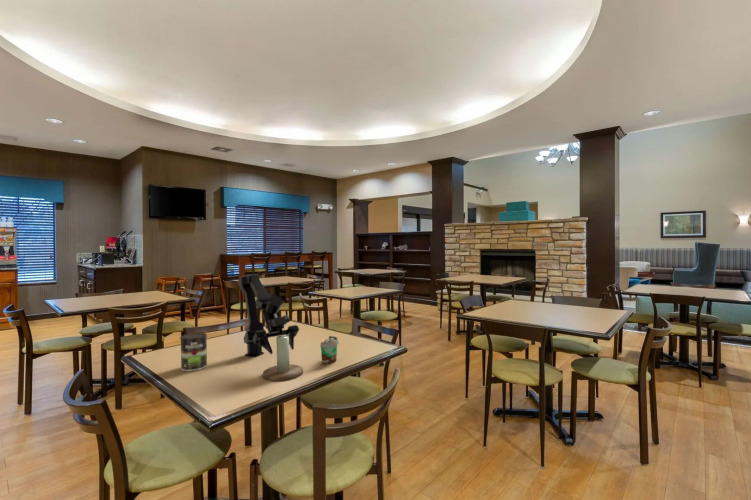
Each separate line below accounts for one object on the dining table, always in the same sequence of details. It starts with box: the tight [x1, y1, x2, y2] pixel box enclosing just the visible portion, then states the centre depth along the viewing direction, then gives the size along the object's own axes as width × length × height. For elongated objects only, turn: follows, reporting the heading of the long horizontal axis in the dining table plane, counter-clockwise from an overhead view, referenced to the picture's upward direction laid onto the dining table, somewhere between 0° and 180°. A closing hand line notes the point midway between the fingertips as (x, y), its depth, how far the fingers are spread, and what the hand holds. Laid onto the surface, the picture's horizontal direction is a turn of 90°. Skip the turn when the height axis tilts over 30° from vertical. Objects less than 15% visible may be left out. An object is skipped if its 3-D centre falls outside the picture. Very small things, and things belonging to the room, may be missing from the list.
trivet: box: [262, 363, 304, 382], centre depth 148 cm, size 16×16×1 cm
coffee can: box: [180, 332, 208, 372], centre depth 157 cm, size 10×10×14 cm
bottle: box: [275, 335, 290, 373], centre depth 148 cm, size 5×5×14 cm
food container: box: [320, 335, 340, 365], centre depth 163 cm, size 12×6×10 cm, turn 168°
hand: (282, 351), depth 148 cm, fingers open, 9 cm apart
